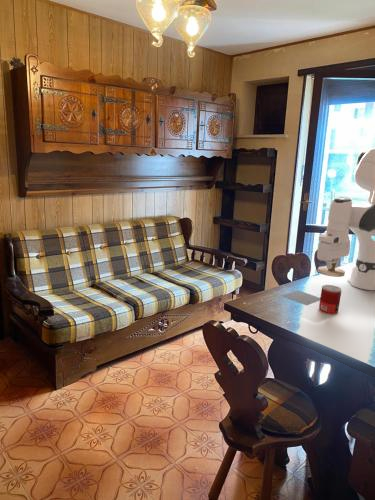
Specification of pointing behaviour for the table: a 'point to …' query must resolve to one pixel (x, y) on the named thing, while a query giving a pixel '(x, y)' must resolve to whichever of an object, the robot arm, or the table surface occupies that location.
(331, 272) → the lid
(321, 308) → the canned food
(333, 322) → the table surface
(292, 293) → the mat
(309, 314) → the table surface
